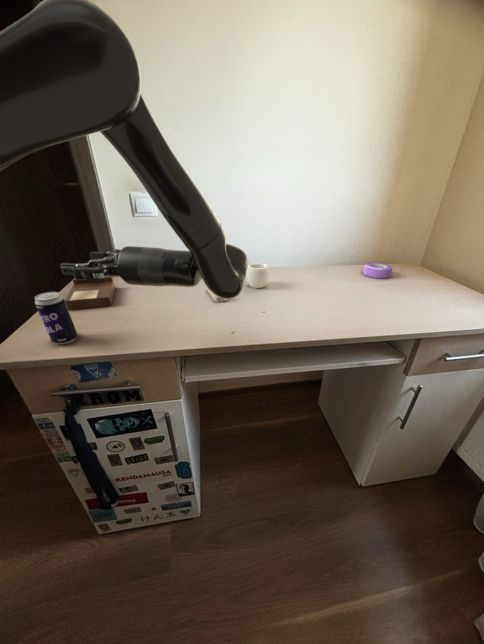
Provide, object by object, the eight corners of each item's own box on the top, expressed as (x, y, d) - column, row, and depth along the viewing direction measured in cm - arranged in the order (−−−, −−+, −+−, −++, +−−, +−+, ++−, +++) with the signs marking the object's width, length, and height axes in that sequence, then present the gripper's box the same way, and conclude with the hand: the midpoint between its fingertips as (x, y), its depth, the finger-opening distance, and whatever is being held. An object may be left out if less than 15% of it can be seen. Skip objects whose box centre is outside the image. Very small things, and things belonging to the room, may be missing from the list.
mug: (267, 282, 112) (268, 262, 108) (269, 289, 105) (270, 269, 101) (237, 281, 111) (236, 261, 107) (237, 289, 104) (236, 268, 100)
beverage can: (51, 338, 72) (31, 294, 65) (76, 332, 75) (60, 289, 68) (53, 348, 68) (33, 302, 61) (80, 341, 71) (63, 297, 64)
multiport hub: (219, 289, 104) (218, 283, 103) (228, 300, 96) (228, 294, 94) (207, 290, 102) (206, 284, 101) (215, 302, 94) (215, 295, 93)
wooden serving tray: (67, 310, 85) (62, 296, 83) (77, 291, 98) (73, 278, 95) (111, 305, 89) (107, 292, 86) (115, 288, 101) (111, 275, 99)
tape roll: (358, 270, 129) (360, 262, 127) (381, 270, 131) (383, 261, 129) (370, 279, 120) (373, 270, 118) (395, 278, 122) (398, 269, 119)
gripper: (161, 239, 61) (93, 236, 63) (124, 257, 49) (42, 253, 51) (168, 273, 65) (104, 269, 67) (135, 297, 53) (58, 292, 55)
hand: (77, 262), depth 59 cm, fingers open, 8 cm apart
